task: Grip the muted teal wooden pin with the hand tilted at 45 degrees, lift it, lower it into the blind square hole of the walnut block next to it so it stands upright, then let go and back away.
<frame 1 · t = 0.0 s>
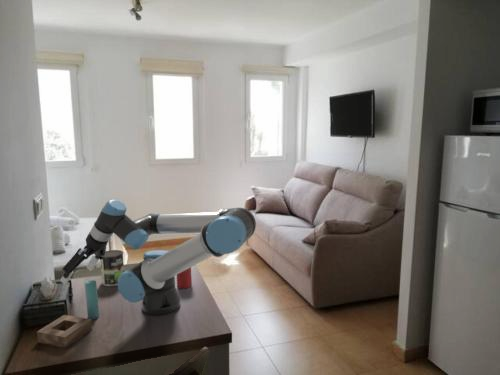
hand: (76, 275, 146), 15 cm above the table, tool tilted 35°, fingers open, 13 cm apart
coffee can: (113, 282, 177), on the table
walnut hole block: (65, 335, 131), on the table
teal pin: (93, 316, 144), on the table
beer can: (184, 286, 171), on the table
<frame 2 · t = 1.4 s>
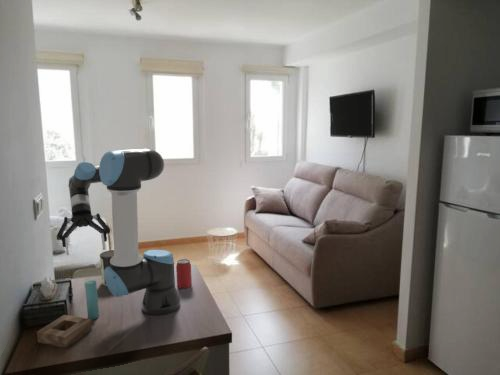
hand: (86, 250, 150), 23 cm above the table, tool tilted 45°, fingers open, 13 cm apart
nothing on the table moved.
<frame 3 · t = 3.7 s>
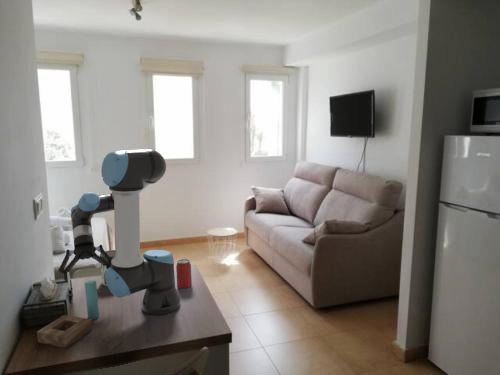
hand: (88, 285, 146), 11 cm above the table, tool tilted 45°, fingers open, 13 cm apart
nothing on the table moved.
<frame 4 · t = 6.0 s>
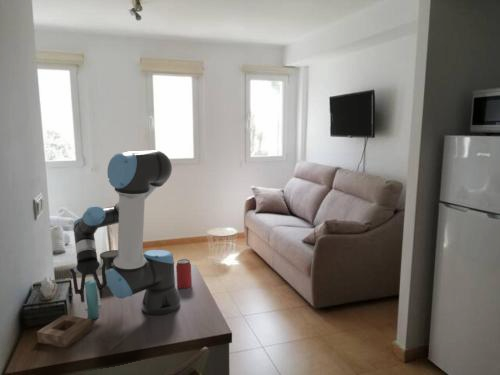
hand: (93, 308, 140), 5 cm above the table, tool tilted 45°, fingers closed on teal pin, 4 cm apart
teal pin: (93, 316, 144), on the table, touching gripper
everything else where it was.
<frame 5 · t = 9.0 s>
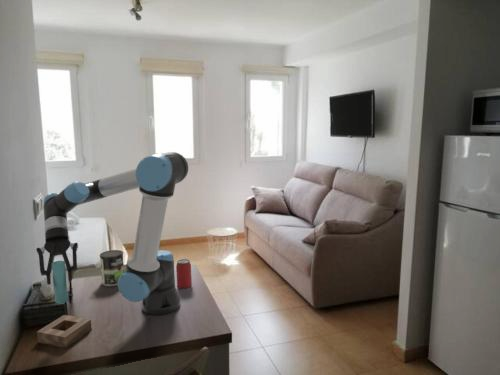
hand: (60, 290, 125), 18 cm above the table, tool tilted 45°, fingers closed on teal pin, 4 cm apart
teal pin: (62, 300, 129), point 13 cm above the table, touching gripper
everything else where it was.
when the fingers open (7 cm above the table, at t = 12.0 s): teal pin stays where it is, resting on walnut hole block.
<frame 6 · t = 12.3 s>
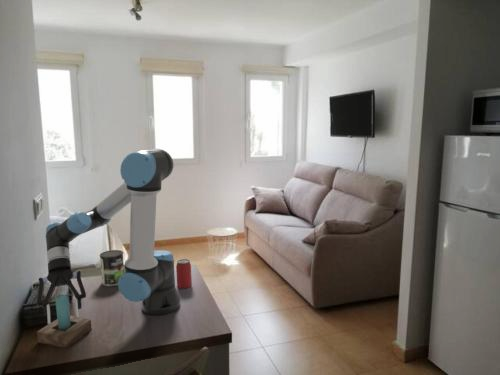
hand: (63, 321, 127), 7 cm above the table, tool tilted 45°, fingers open, 8 cm apart
teal pin: (65, 334, 131), point 1 cm above the table, touching walnut hole block
everything else where it was.
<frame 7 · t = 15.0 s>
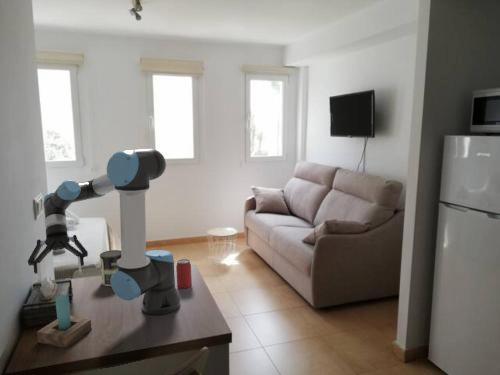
hand: (60, 277, 137), 18 cm above the table, tool tilted 45°, fingers open, 13 cm apart
nothing on the table moved.
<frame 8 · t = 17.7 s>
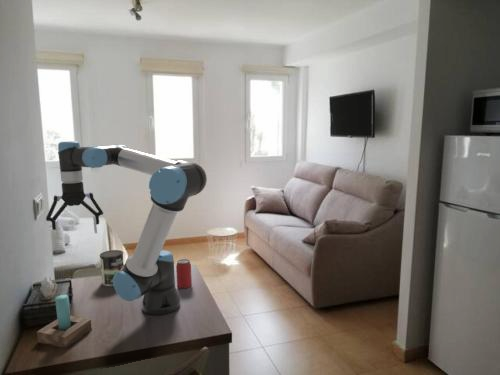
hand: (77, 234, 146), 31 cm above the table, tool pointing down, fingers open, 13 cm apart
nothing on the table moved.
at the end: teal pin 0.1 cm off-centre on the walnut hole block, point 0.5 cm above the walnut hole block's base; teal pin tilted 0°; the gripper is holding nothing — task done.
